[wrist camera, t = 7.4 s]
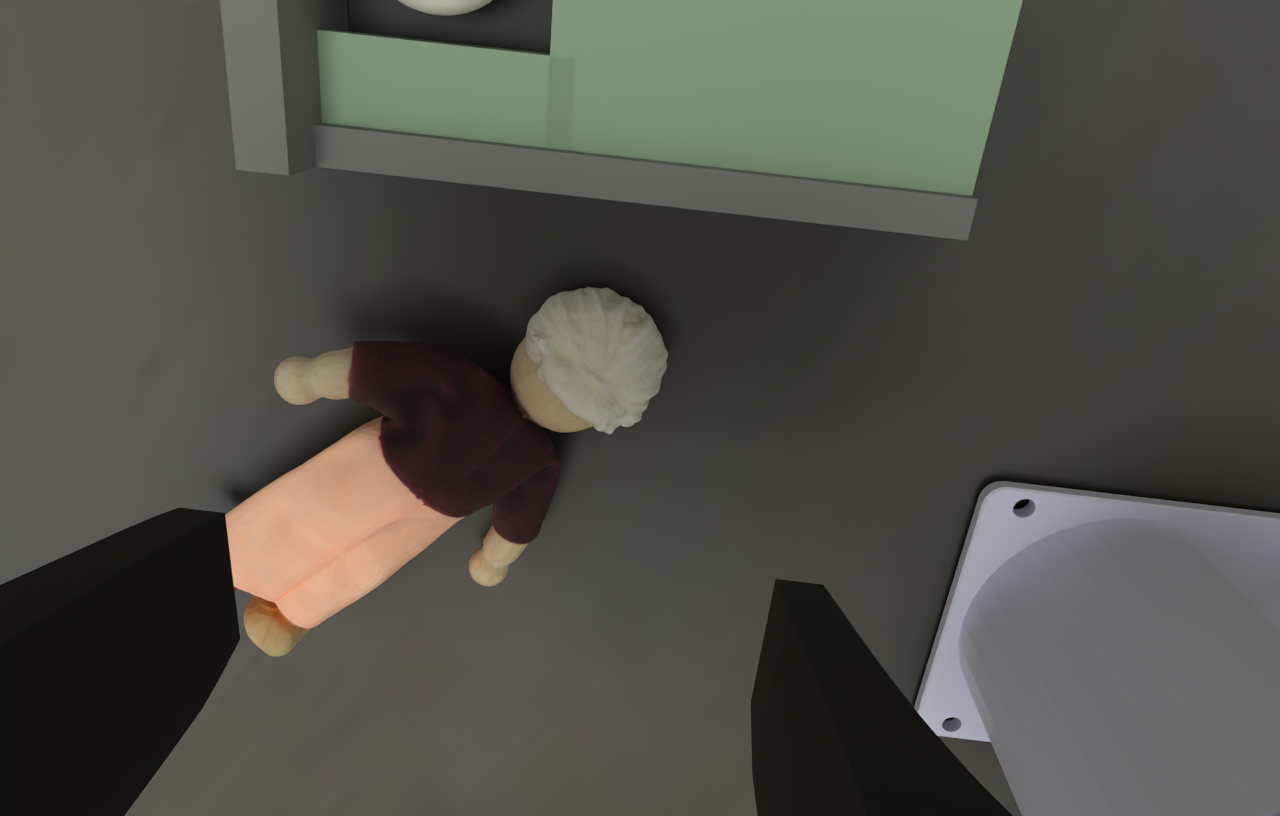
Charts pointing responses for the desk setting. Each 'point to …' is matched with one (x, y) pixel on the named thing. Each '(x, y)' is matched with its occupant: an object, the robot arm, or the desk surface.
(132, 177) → the desk surface
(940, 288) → the desk surface
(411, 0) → the ball
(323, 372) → the grandmother figurine
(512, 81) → the green walled tray
